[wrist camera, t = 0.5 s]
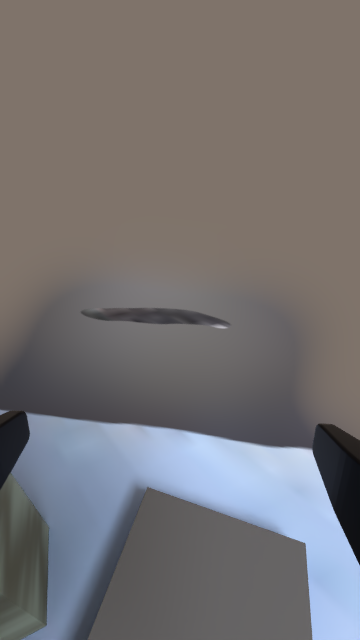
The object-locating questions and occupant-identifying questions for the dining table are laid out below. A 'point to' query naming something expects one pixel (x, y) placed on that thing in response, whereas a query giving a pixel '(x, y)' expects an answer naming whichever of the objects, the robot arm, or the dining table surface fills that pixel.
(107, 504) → the dining table surface
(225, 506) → the dining table surface
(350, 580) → the dining table surface
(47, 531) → the green post
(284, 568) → the base board
